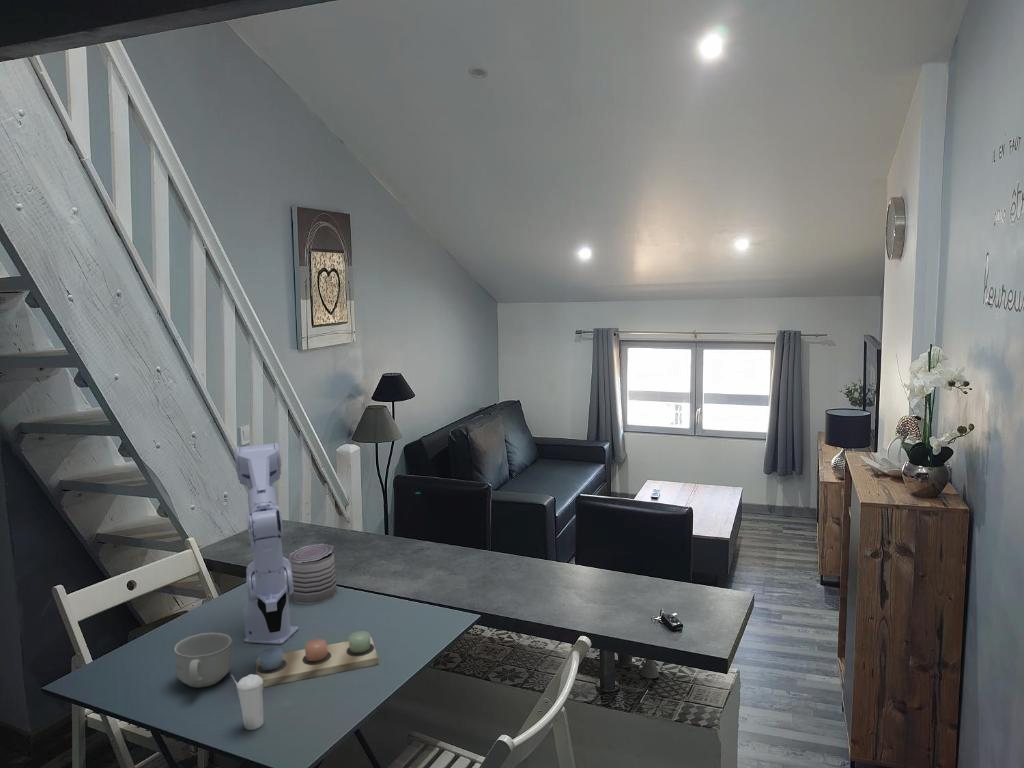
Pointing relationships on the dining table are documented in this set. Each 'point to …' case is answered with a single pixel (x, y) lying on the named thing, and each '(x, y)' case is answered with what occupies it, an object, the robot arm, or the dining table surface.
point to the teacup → (203, 659)
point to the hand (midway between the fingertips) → (275, 630)
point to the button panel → (317, 664)
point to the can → (313, 574)
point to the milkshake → (251, 700)
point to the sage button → (359, 641)
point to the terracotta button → (316, 650)
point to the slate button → (271, 658)
